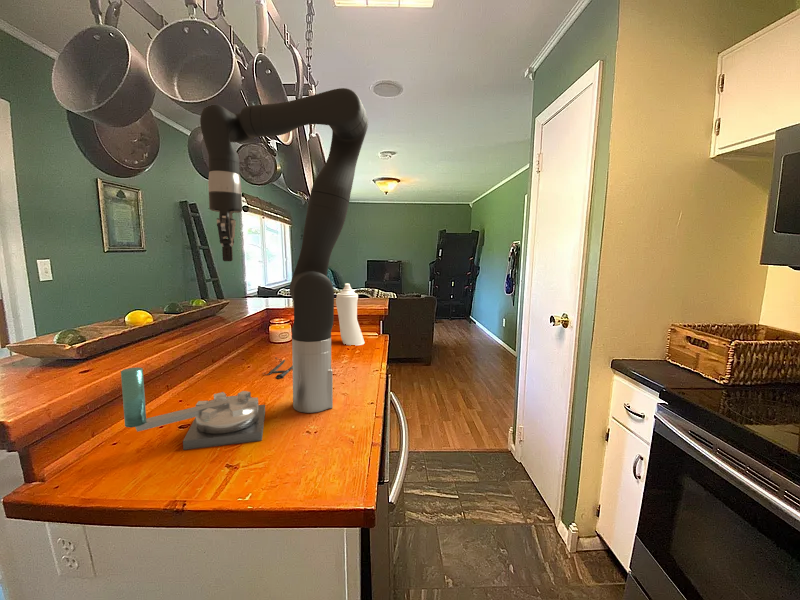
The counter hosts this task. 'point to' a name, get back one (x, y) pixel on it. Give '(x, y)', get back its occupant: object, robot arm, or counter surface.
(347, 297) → the white bottle
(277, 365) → the hacksaw
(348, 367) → the counter surface
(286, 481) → the counter surface
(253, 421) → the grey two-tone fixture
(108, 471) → the counter surface
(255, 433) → the base plate
